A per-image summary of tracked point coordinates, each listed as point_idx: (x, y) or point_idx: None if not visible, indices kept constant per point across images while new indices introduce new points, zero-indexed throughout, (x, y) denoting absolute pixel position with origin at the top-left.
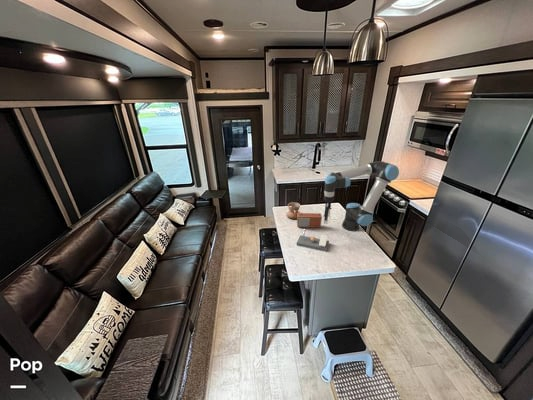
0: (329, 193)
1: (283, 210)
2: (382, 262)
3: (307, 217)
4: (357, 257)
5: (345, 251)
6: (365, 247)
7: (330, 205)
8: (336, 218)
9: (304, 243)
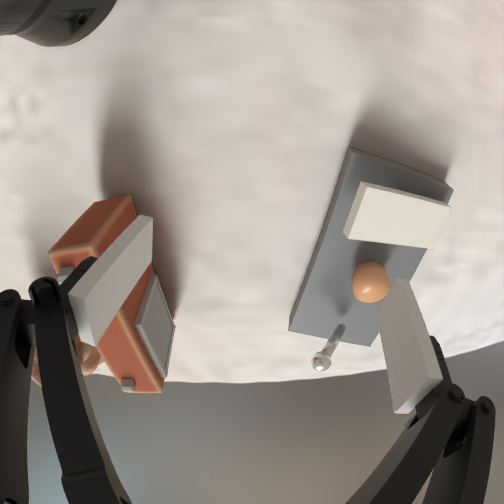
0: None
1: None
2: None
3: (139, 342)
4: (481, 7)
5: (437, 52)
6: None
7: (105, 470)
8: (4, 96)
9: None
